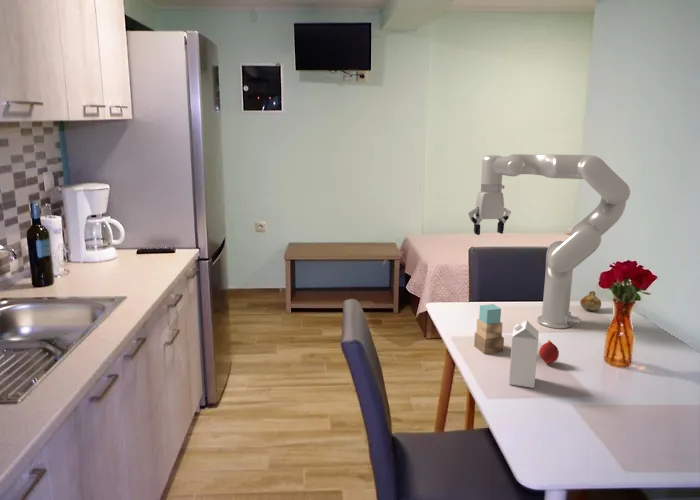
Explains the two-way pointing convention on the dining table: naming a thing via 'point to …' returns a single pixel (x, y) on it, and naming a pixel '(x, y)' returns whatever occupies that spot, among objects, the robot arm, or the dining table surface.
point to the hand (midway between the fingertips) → (488, 233)
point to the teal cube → (490, 314)
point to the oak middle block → (489, 330)
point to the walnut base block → (488, 344)
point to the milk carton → (523, 355)
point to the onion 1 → (549, 352)
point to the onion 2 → (591, 302)
